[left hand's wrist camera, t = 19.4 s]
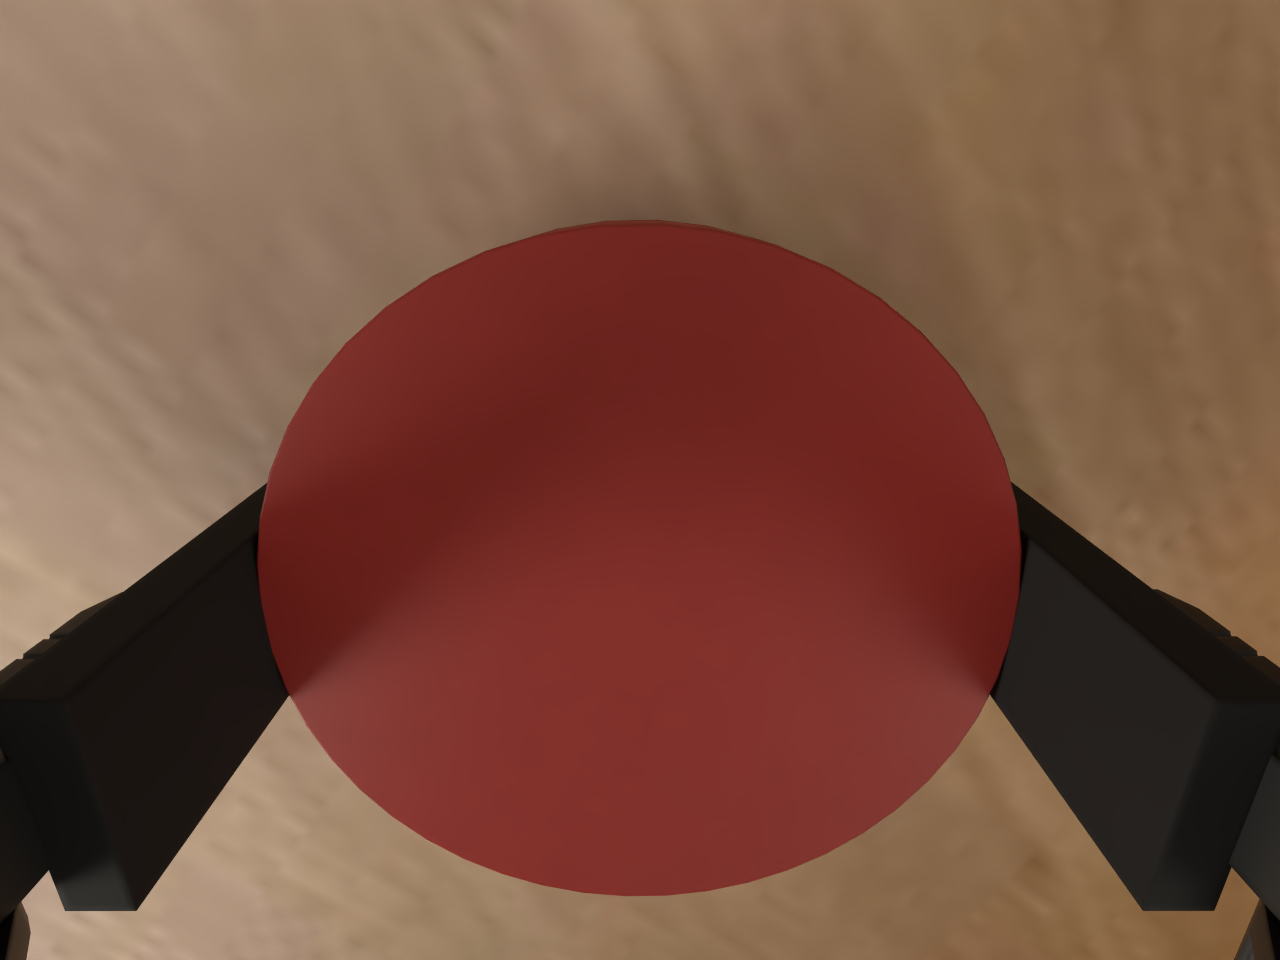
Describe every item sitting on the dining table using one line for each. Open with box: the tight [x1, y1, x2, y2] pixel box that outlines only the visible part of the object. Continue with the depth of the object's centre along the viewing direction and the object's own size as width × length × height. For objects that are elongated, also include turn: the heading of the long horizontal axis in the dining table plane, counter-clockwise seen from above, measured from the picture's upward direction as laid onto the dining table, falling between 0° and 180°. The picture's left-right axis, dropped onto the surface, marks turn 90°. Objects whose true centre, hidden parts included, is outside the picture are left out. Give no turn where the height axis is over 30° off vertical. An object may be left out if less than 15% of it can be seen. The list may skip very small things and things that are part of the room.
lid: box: [257, 220, 1022, 896], centre depth 11 cm, size 11×11×2 cm
